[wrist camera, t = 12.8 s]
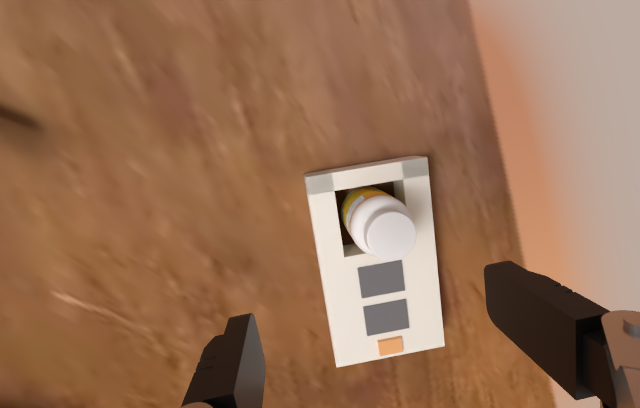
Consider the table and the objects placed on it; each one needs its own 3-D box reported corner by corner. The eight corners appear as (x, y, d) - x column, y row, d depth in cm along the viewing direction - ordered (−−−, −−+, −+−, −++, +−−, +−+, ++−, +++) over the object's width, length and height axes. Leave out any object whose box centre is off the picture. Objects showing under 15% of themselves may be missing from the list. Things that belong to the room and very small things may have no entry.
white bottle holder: (303, 173, 34) (305, 177, 30) (413, 155, 34) (429, 157, 31) (332, 346, 38) (337, 370, 34) (431, 327, 38) (446, 348, 35)
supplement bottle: (400, 204, 35) (439, 227, 26) (370, 244, 36) (398, 282, 26) (359, 175, 34) (385, 188, 25) (330, 217, 35) (344, 246, 25)
